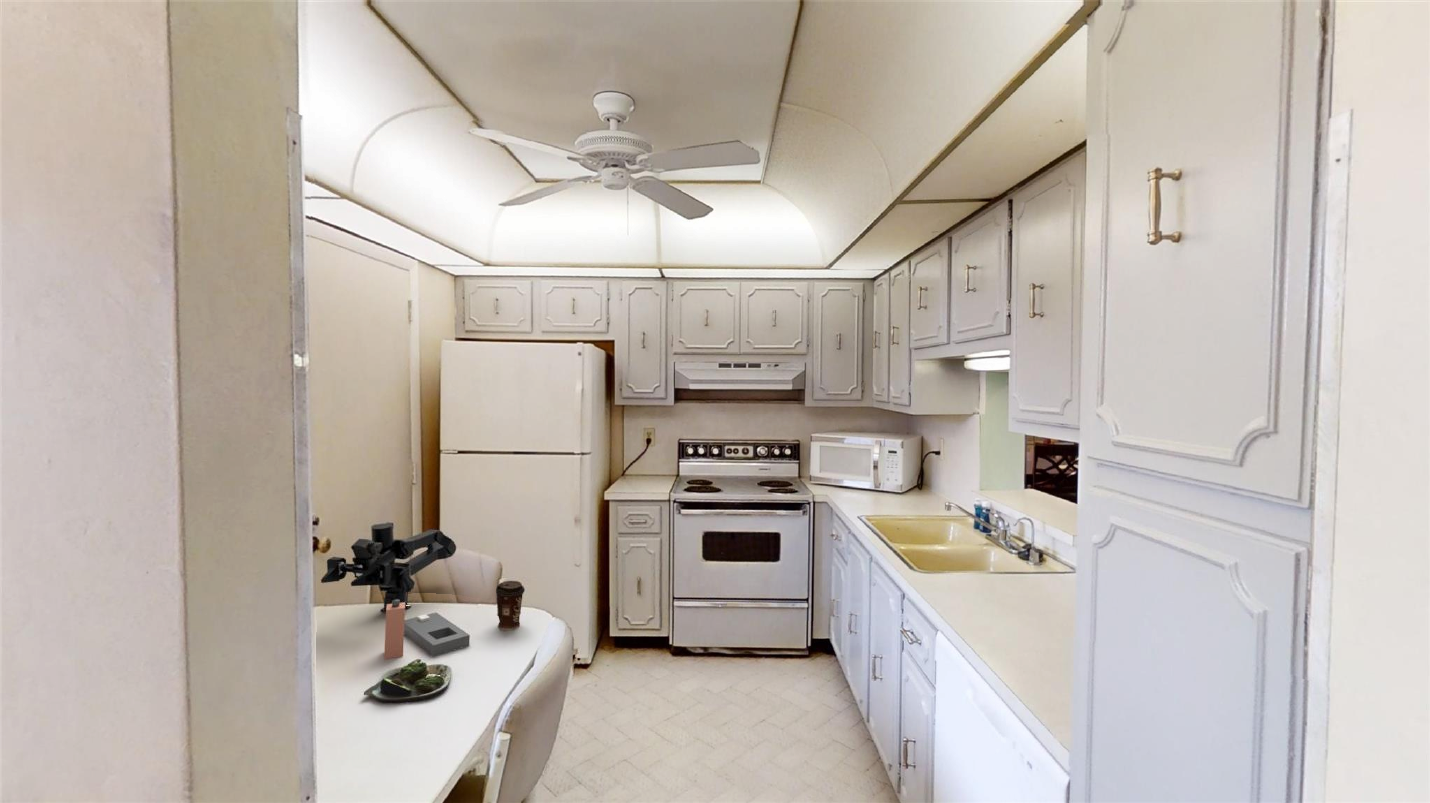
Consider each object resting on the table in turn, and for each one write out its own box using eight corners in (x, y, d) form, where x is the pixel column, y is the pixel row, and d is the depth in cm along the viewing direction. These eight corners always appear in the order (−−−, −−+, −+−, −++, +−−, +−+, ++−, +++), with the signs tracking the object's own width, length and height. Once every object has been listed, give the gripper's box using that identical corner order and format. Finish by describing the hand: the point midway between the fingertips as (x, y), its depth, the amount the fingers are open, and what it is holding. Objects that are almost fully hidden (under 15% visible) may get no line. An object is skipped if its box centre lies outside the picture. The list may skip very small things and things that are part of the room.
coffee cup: (487, 628, 177) (489, 585, 177) (504, 618, 185) (506, 577, 185) (512, 633, 175) (513, 590, 175) (528, 623, 183) (530, 581, 182)
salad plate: (383, 668, 151) (384, 650, 151) (458, 663, 156) (458, 646, 156) (358, 708, 133) (358, 688, 132) (443, 701, 137) (444, 681, 137)
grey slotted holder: (401, 630, 173) (401, 617, 173) (435, 621, 180) (436, 609, 180) (432, 656, 158) (433, 642, 158) (469, 645, 166) (469, 632, 166)
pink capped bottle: (384, 651, 159) (386, 598, 159) (403, 649, 161) (405, 596, 161) (384, 658, 155) (386, 604, 155) (403, 655, 158) (405, 602, 157)
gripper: (347, 532, 179) (305, 551, 163) (403, 538, 176) (365, 557, 161) (349, 567, 180) (307, 589, 165) (404, 573, 177) (367, 596, 162)
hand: (336, 582), depth 163 cm, fingers open, 9 cm apart
